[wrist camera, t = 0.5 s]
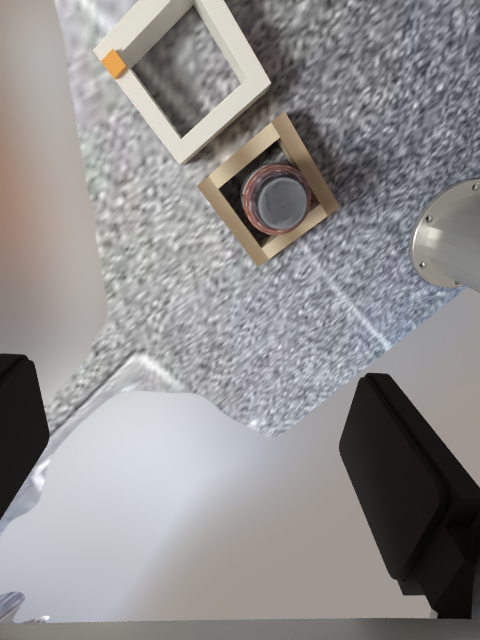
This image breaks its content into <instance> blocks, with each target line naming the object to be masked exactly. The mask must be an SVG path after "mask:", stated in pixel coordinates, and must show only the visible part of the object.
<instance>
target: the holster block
mask: <svg viewBox="0 0 480 640" xmlns="http://www.w3.org/2000/svg"><path fill="white" fill-rule="evenodd" d="M275 141H277V143H278V144H279V146H280V148H281V149H282V151H283V153H284V154H285V156H286V157H287V159H288V161H289V162H290V164H291V166H292V167H294V168H295V169H297V170H298V171H300V173H302V174H303V176H304V177H305V178H306V180H307V182H308V183H309V187H310V192H311V198H312V200H313V202H312V203H311V204H310V209H309V211H308V214H307V216H306V218H305V219H304V221H303V222H302V223H301V224H300V225H299V226H298V227H297V228H296V229H294V230H293V231H291V232H289V233H286V234H283V235H270V234H269V235H268V236H267V237H265V238H264V239H263V240H261V241H260V242H258V241H257V240H256V238H255V237H254V235H253V234H252V233H251V231H250V230H249V229H248V227H247V226H246V224H245V223H244V222H243V220H242V219H241V218H240V216H239V215H238V213H237V212H236V211H235V209H234V208H233V207H232V205H231V204H230V203H229V201H228V200H227V198H226V197H225V196H224V194H223V193H222V192H221V190H220V189H219V188H220V187H221V186H222V185H223V184H225V183H226V182H227V181H228V180H229V179H231V178H232V177H233V176H234V175H235V174H237V173H238V172H239V171H240V170H241V169H243V168H244V167H245V166H246V165H247V164H249V163H250V162H251V161H252V160H253V159H254V158H256V157H257V156H258V155H259V154H260V153H262V152H263V151H264V150H265V149H266V148H268V147H269V146H270V145H271V144H272V143H274V142H275ZM197 187H198V188H199V189H200V191H201V192H202V193H203V195H204V196H205V197H206V199H207V200H208V201H209V203H210V204H211V205H212V207H213V208H214V209H215V211H216V212H217V213H218V215H219V216H220V217H221V219H222V220H223V221H224V222H225V224H226V225H227V226H228V228H229V229H230V230H231V232H232V233H233V234H234V236H235V237H236V238H237V240H238V241H239V242H240V244H241V245H242V246H243V248H244V249H245V250H246V252H247V253H248V254H249V256H250V257H251V258H252V259H253V261H254V262H255V263H256V265H257V266H258V267H259V266H260V265H262V264H263V263H265V262H266V261H267V260H269V259H270V258H271V257H273V256H274V255H275V254H277V253H278V252H279V251H281V250H282V249H284V248H285V247H286V246H288V245H289V244H290V243H292V242H293V241H294V240H296V239H297V238H298V237H300V236H301V235H303V234H304V233H305V232H307V231H308V230H309V229H311V228H312V227H313V226H315V225H316V224H317V223H319V222H320V221H322V220H323V219H324V218H326V217H327V216H328V215H330V214H331V213H332V212H334V211H335V210H336V209H338V208H339V207H340V206H339V204H338V203H337V201H336V199H335V197H334V196H333V194H332V192H331V191H330V189H329V187H328V185H327V184H326V182H325V180H324V178H323V177H322V175H321V173H320V172H319V170H318V168H317V166H316V165H315V163H314V161H313V159H312V158H311V156H310V154H309V153H308V151H307V149H306V147H305V146H304V144H303V142H302V140H301V139H300V137H299V135H298V134H297V132H296V130H295V128H294V127H293V125H292V123H291V121H290V120H289V118H288V116H287V114H286V113H285V111H284V112H283V113H282V114H280V115H279V116H278V117H277V118H276V119H275V120H273V121H272V122H271V123H270V124H269V125H268V126H266V127H265V128H264V129H263V130H262V131H261V132H259V133H258V134H257V135H256V136H255V137H254V138H252V139H251V140H250V141H249V142H248V143H247V144H245V145H244V146H243V147H242V148H241V149H239V150H238V151H237V152H236V153H235V154H234V155H232V156H231V157H230V158H229V159H228V160H227V161H225V162H224V163H223V164H222V165H221V166H220V167H218V168H217V169H216V170H215V171H214V172H213V173H211V174H210V175H209V176H208V177H207V178H206V179H204V180H203V181H202V182H201V183H200V184H199V185H197Z"/></svg>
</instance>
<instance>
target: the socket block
mask: <svg viewBox="0 0 480 640" xmlns="http://www.w3.org/2000/svg"><path fill="white" fill-rule="evenodd" d="M193 5H194V7H195V9H196V10H197V12H198V13H199V15H200V17H201V18H202V20H203V22H204V23H205V25H206V27H207V28H208V30H209V31H210V33H211V35H212V36H213V38H214V40H215V41H216V43H217V45H218V46H219V48H220V49H221V51H222V53H223V54H224V56H225V58H226V59H227V61H228V63H229V64H230V66H231V67H232V69H233V71H234V72H235V74H236V76H237V77H238V79H239V81H240V82H241V85H240V86H239V87H237V88H236V89H235V90H234V91H233V92H232V93H231V94H230V95H229V96H228V97H226V98H225V99H224V100H223V101H222V102H221V103H220V104H219V105H218V106H217V107H216V108H214V109H213V110H212V111H211V112H210V113H209V114H208V115H207V116H206V117H205V118H204V119H202V120H201V121H200V122H199V123H198V124H197V125H196V126H195V127H194V128H193V129H191V130H190V131H189V132H188V133H187V134H186V135H185V136H184V137H183V138H182V137H181V135H180V134H179V133H178V131H177V130H176V128H175V127H174V126H173V124H172V123H171V122H170V120H169V119H168V117H167V116H166V115H165V113H164V112H163V111H162V109H161V108H160V106H159V105H158V104H157V102H156V101H155V100H154V98H153V97H152V95H151V94H150V93H149V91H148V90H147V89H146V87H145V86H144V84H143V83H142V82H141V80H140V79H139V78H138V76H137V75H136V73H135V72H134V71H133V69H132V68H133V67H134V66H135V65H136V64H137V63H138V62H139V61H140V60H141V58H142V57H143V56H144V55H145V54H146V53H147V52H148V51H149V50H150V49H151V48H152V47H153V46H154V45H155V44H156V43H157V42H158V41H159V40H160V39H161V38H162V37H163V36H164V35H165V34H166V33H167V32H168V31H169V30H170V29H171V28H172V27H173V25H174V24H175V23H176V22H177V21H178V20H179V19H180V18H181V17H182V16H183V15H184V14H185V13H186V12H187V11H188V10H189V9H190V8H191V7H192V6H193ZM93 51H94V53H95V54H96V55H97V57H98V58H99V59H100V60H101V62H102V63H103V65H104V66H105V67H106V69H107V70H108V71H109V72H110V74H111V75H112V76H113V78H114V79H115V80H116V82H117V83H118V84H119V86H120V87H121V88H122V89H123V91H124V92H125V93H126V95H127V96H128V97H129V99H130V100H131V101H132V103H133V104H134V105H135V107H136V108H137V109H138V111H139V112H140V113H141V115H142V116H143V117H144V118H145V120H146V121H147V122H148V124H149V125H150V126H151V128H152V129H153V130H154V132H155V133H156V134H157V136H158V137H159V138H160V140H161V141H162V142H163V144H164V145H165V146H166V148H167V149H168V150H169V151H170V153H171V154H172V155H173V157H174V158H175V159H176V161H177V162H178V163H179V165H185V164H186V163H187V162H188V161H189V160H190V159H191V158H193V157H194V156H195V155H196V154H197V153H198V152H199V151H200V150H202V149H203V148H204V147H205V146H206V145H207V144H208V143H209V142H211V141H212V140H213V139H214V138H215V137H216V136H217V135H218V134H220V133H221V132H222V131H223V130H224V129H225V128H226V127H228V126H229V125H230V124H231V123H232V122H233V121H234V120H235V119H237V118H238V117H239V116H240V115H241V114H242V113H243V112H244V111H246V110H247V109H248V108H249V107H250V106H251V105H252V104H253V103H255V102H256V101H257V100H258V99H259V98H260V97H261V96H262V95H264V94H265V93H266V91H267V90H268V88H269V86H270V84H271V82H270V80H269V78H268V76H267V75H266V73H265V71H264V69H263V68H262V66H261V64H260V62H259V61H258V59H257V57H256V56H255V54H254V52H253V50H252V49H251V47H250V45H249V43H248V42H247V40H246V38H245V36H244V35H243V33H242V31H241V29H240V28H239V26H238V24H237V22H236V21H235V19H234V17H233V16H232V14H231V12H230V10H229V9H228V7H227V5H226V3H225V2H224V0H138V1H137V2H136V4H135V5H134V6H133V7H132V8H131V9H130V10H129V11H128V12H127V13H126V15H125V16H124V17H123V18H122V19H121V20H120V21H119V22H118V23H117V24H116V25H115V27H114V28H113V29H112V30H111V31H110V32H109V33H108V34H107V35H106V36H105V37H104V39H103V40H102V41H101V42H100V43H99V44H98V45H97V46H96V47H95V48H94V49H93Z"/></svg>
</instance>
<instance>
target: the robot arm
mask: <svg viewBox="0 0 480 640" xmlns="http://www.w3.org/2000/svg"><path fill="white" fill-rule="evenodd" d="M426 217H427V218H426ZM409 256H410V261H411V263H412V266H413V268H414V270H415V271H416V272H417V274H418V275H419V276H420V277H422V278H423V279H424V280H425V281H427V282H429V283H431V284H433V285H436V286H439V287H446V288H455V287H461V286H467V287H469V288H471V289H473V290H475V291H477V292H479V293H480V179H469V180H465V181H462V182H458V183H456V184H454V185H452V186H450V187H448V188H446V189H445V190H443V191H442V192H440V193H439V194H438V195H436V196H435V197H434V198H433V199H432V200H431V201H430V202H429V203H428V204H427V205H426V207H425V208H424V209H423V210H422V212H421V213H420V215H419V217H418V218H417V220H416V222H415V224H414V227H413V229H412V232H411V236H410V241H409ZM49 435H50V434H49V428H48V424H47V419H46V415H45V410H44V405H43V401H42V397H41V392H40V387H39V382H38V378H37V373H36V369H35V365H34V362H33V361H31V360H28V358H27V356H25V355H22V354H21V355H20V354H0V519H1V518H2V516H3V515H4V513H5V511H6V510H7V508H8V507H9V505H10V503H11V502H12V500H13V499H14V497H15V496H16V494H17V492H18V491H19V489H20V488H21V486H22V484H23V483H24V481H25V480H26V478H27V476H28V475H29V473H30V472H31V470H32V468H33V467H34V465H35V464H36V462H37V461H38V459H39V457H40V456H41V454H42V453H43V451H44V449H45V448H46V446H47V444H48V441H49ZM339 451H340V455H341V457H342V460H343V462H344V465H345V467H346V470H347V472H348V475H349V477H350V480H351V482H352V485H353V487H354V489H355V492H356V494H357V497H358V499H359V502H360V504H361V507H362V509H363V512H364V514H365V517H366V519H367V521H368V524H369V526H370V528H371V531H372V534H373V536H374V539H375V541H376V544H377V546H378V548H379V551H380V553H381V555H382V558H383V561H384V563H385V566H386V568H387V570H388V572H389V574H390V576H391V577H392V578H393V579H396V580H397V581H398V583H399V586H400V588H401V591H402V593H403V595H425V596H426V598H427V600H428V602H429V604H430V606H431V614H430V619H418V618H417V619H415V618H354V619H353V618H352V619H351V618H349V619H256V620H190V621H134V622H133V621H128V622H77V623H76V622H74V623H28V624H0V640H480V488H479V486H478V485H477V484H476V483H475V481H474V480H473V479H472V478H471V476H470V475H469V474H468V473H467V471H466V470H465V469H464V468H463V467H462V465H461V464H460V463H459V461H458V460H457V459H456V458H455V456H454V455H453V454H452V453H451V451H450V450H449V449H448V448H447V446H446V445H445V444H444V443H443V441H442V440H441V439H440V438H439V436H438V435H437V434H436V433H435V431H434V430H433V429H432V428H431V426H430V425H429V424H428V423H427V421H426V420H425V419H424V418H423V416H422V415H421V414H420V412H419V411H418V410H417V409H416V408H415V406H414V405H413V404H412V403H411V401H410V400H409V399H408V397H407V396H406V395H405V394H404V392H403V391H402V390H401V389H400V388H399V386H398V385H397V384H396V383H395V381H394V380H393V379H392V377H391V376H390V375H388V374H382V373H367V374H366V375H365V377H362V378H360V380H359V382H358V385H357V388H356V392H355V395H354V398H353V401H352V404H351V407H350V411H349V414H348V417H347V420H346V423H345V427H344V430H343V433H342V436H341V439H340V443H339Z"/></svg>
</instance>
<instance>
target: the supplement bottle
mask: <svg viewBox="0 0 480 640" xmlns="http://www.w3.org/2000/svg"><path fill="white" fill-rule="evenodd" d="M241 203H242V206H243V209H244V211H245V213H246V216H247V217H248V219H249V221H250V222H251V224H252V225H253V226H254V227H255V228H257V229H258V230H260V231H261V232H264V233H266V234H270V235H283V234H286V233H289V232H291V231H293V230H294V229H296V228H297V227H298V226H299V225H300V224H301V223H302V222H303V221H304V219H305V218H306V216H307V214H308V211H309V209H310V204H311V192H310V187H309V183H308V182H307V180H306V178H305V177H304V176H303V174H302V173H300V171H298V170H297V169H295V168H294V167H291V166H289V165H284V164H271V165H264V166H261V167H258V168H256V169H254V170H253V171H252V172H251V173H250V174H249V175H248V176H247V177H246V178H245V180H244V182H243V185H242V188H241Z"/></svg>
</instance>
